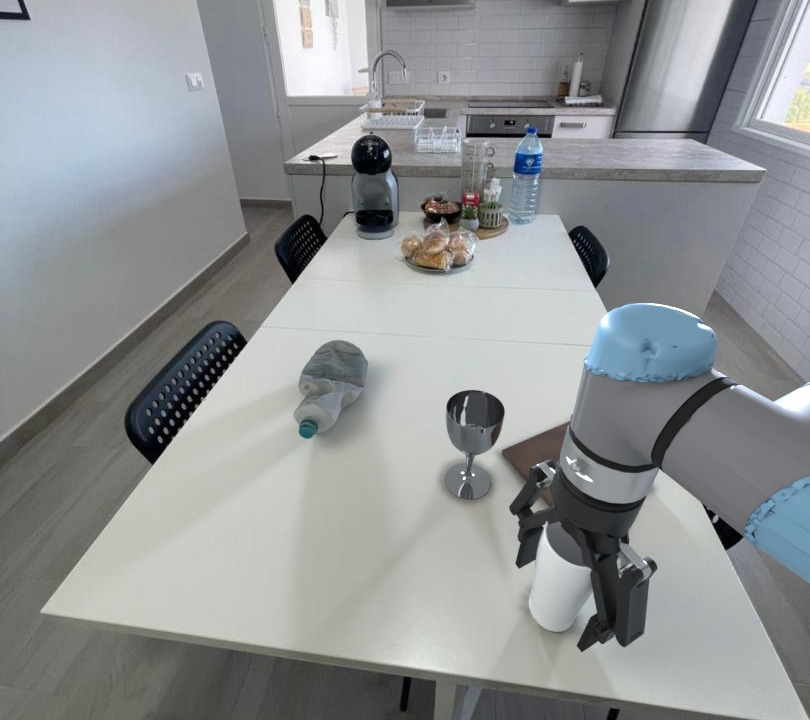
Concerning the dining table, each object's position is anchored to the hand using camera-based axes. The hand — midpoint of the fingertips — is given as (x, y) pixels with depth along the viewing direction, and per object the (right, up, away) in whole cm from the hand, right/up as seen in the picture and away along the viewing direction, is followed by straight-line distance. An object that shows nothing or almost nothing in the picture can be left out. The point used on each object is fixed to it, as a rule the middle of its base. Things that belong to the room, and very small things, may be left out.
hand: (554, 599), depth 52 cm
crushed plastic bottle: (-32, +20, +33) cm, 50 cm away
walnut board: (+9, +10, +19) cm, 24 cm away
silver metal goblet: (-8, +9, +18) cm, 21 cm away
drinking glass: (0, -2, +2) cm, 3 cm away
